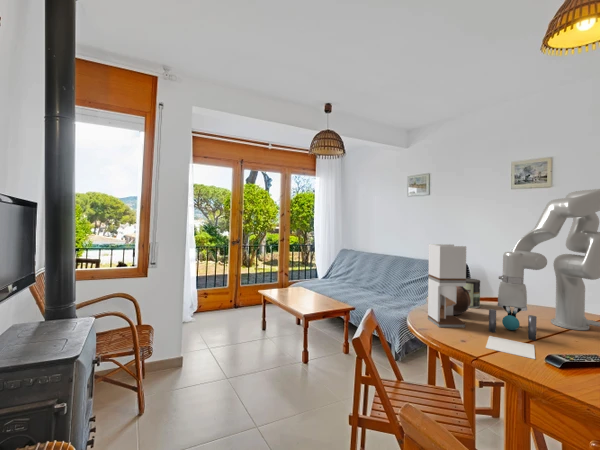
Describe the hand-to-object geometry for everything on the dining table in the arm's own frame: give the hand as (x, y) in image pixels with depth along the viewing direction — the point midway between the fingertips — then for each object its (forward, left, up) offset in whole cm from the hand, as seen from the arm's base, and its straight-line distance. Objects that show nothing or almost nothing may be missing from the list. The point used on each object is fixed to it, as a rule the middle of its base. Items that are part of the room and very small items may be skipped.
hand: (511, 321), depth 130 cm
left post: (+6, +13, -2) cm, 15 cm away
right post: (-7, +13, -2) cm, 15 cm away
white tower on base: (+24, +14, -2) cm, 28 cm away
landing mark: (0, +27, -2) cm, 27 cm away
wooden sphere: (+24, -3, -2) cm, 24 cm away
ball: (0, +6, +1) cm, 6 cm away
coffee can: (+20, -25, -2) cm, 31 cm away
